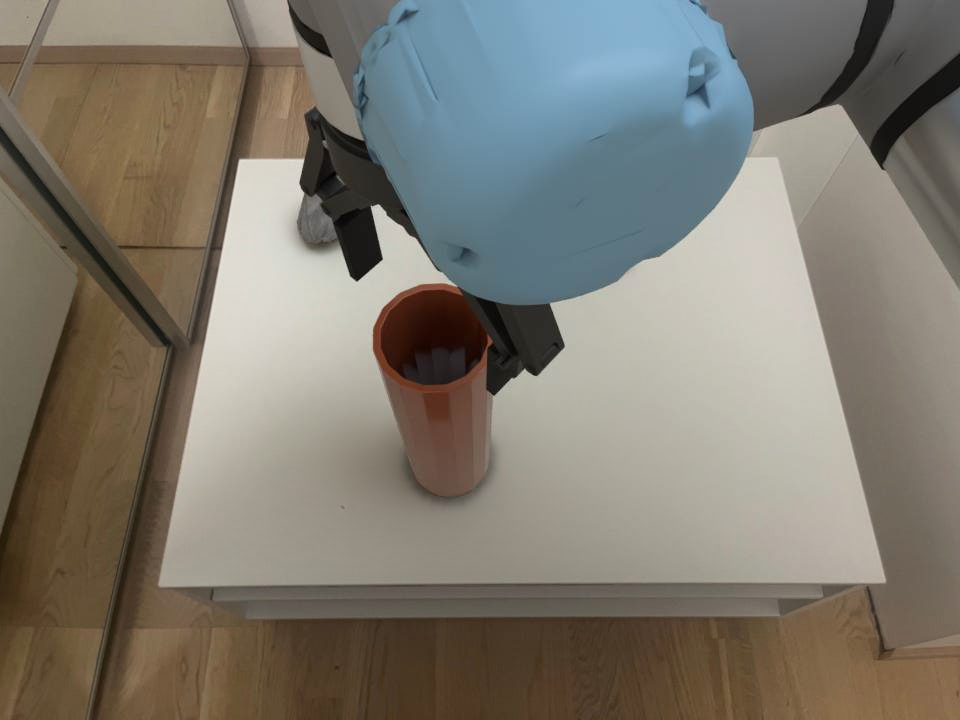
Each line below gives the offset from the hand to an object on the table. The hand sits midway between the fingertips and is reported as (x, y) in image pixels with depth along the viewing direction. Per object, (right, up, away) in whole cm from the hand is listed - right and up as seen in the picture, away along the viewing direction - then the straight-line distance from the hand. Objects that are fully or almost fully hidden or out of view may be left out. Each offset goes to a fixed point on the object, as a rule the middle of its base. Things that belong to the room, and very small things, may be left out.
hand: (432, 321), depth 48 cm
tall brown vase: (0, -15, +31) cm, 34 cm away
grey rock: (-17, +16, +46) cm, 51 cm away
